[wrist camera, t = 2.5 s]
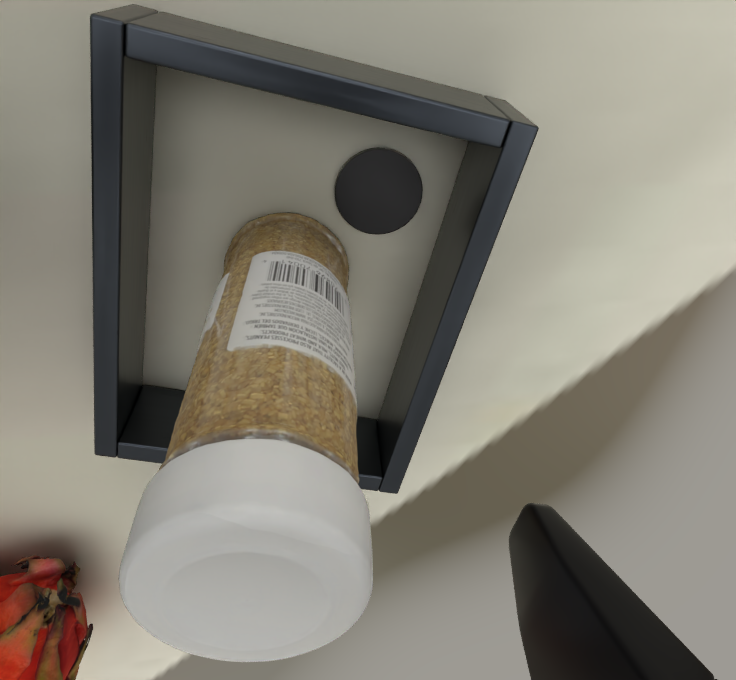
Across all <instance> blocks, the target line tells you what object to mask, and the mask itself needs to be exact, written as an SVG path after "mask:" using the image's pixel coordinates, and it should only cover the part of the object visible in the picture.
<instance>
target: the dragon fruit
mask: <svg viewBox="0 0 736 680" xmlns="http://www.w3.org/2000/svg"><path fill="white" fill-rule="evenodd" d="M41 558H42V559H41ZM43 558H44V557H39V556H37V555H33V556H30V557H27V558H22V559H21V560H19V561H18V562H17V563H15V564H14V565H11V566H16V565H19V564H22V563H23V562H27V563H26V564H25V565H22V566H21V569H24V568H29V569H28V572H22V573H15V574H10V575H4V576H0V680H75V679H76V675H77V673H78V669H79V664H80V662H81V660H82V657H83V654H84V652H85V650H86V648H87V646H88V643H89V641H88V639H89V640H90V638H89V637H91V634H92V630H93V624H90V625H89V628H88V626H87V618H86V609H85V606H84V603H83V599H82V596H81V594H80V593H77V594H76V593H72V589H74V587H75V585H76V584H77V582H76V578H77V575H78V572H79V571H80V568H79V567H78V566H77V564H76V563H75V562H74V563H73V565H71V566H69V569H66V567H65V565H64V563H63V562H62V560H61V559H54V558H53V559H48V558H49V557H47V559H43ZM84 639H85V640H84ZM87 641H88V643H87ZM86 644H87V645H86Z"/></svg>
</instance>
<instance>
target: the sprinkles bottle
mask: <svg viewBox="0 0 736 680" xmlns="http://www.w3.org/2000/svg"><path fill="white" fill-rule="evenodd" d="M348 272H349V264H348V259H347V256H346V253H345V251H344V248H343V246H342V244H341V243H340V241H339V240H338V238H337V237H336V236H335V235H334V234H333V233H332V232H331V231H330V230H329V229H328V228H327V227H325V226H324V225H321V224H320V223H319V222H318V221H316V220H314V219H311V218H309V217H305V216H302V215H299V214H295V213H276V214H268V215H266V216H264V217H260V218H258V219H255V220H252V221H250V222H249V223H247V224H246V225H245V226H244V227H243V228H242V229H241V230H240V231H239V232H238V233H237V234H236V236H235V237H234V238H233V240H232V242H231V245H230V246H229V248H228V251H227V253H226V256H225V260H224V273H223V276H222V279H221V281H220V283H219V285H218V287H217V289H216V291H215V294H214V296H213V300H212V303H211V306H210V308H209V311H208V314H207V317H206V320H205V324H204V328H203V331H202V334H201V337H200V340H199V344H198V349H197V357H196V361H195V364H194V366H193V369H192V373H191V376H190V378H189V382H188V385H187V389H186V392H185V394H184V399H183V401H182V403H181V407H180V411H179V415H178V417H177V420H176V422H175V426H174V430H173V434H172V436H171V441H170V444H169V447H168V450H167V454H166V459H165V461H164V462H163V464H162V465H161V467H160V468H159V471H158V472H157V473H156V474H155V475H154V477H153V478H152V479H151V481H150V482H149V483H148V485H147V486H146V488H145V490H144V492H143V494H142V497H141V500H140V503H139V506H138V509H137V512H136V515H135V517H134V521H133V524H132V527H131V531H130V534H129V537H128V541H127V544H126V547H125V551H124V554H123V558H122V561H121V565H120V571H119V586H120V593H121V596H122V599H123V602H124V604H125V606H126V608H127V610H128V611H129V613H130V614H131V616H132V617H133V618H134V619H135V620H136V622H137V623H138V624H139V625H140V626H141V627H142V628H144V629H145V630H146V631H147V632H149V633H150V634H151V635H153V636H154V637H156V638H157V639H159V640H160V641H162V642H164V643H166V644H168V645H170V646H172V647H174V648H176V649H179V650H181V651H184V652H187V653H190V654H194V655H197V656H202V657H205V658H209V659H216V660H224V661H235V662H260V661H273V660H281V659H285V658H290V657H294V656H298V655H301V654H304V653H307V652H310V651H313V650H315V649H317V648H320V647H322V646H324V645H326V644H328V643H330V642H332V641H334V640H335V639H337V638H338V637H340V636H341V635H343V634H344V633H345V632H346V631H347V630H348V629H350V628H351V627H352V626H353V625H354V624H355V622H356V621H357V620H358V619H359V618H360V617H361V615H362V613H363V612H364V610H365V608H366V606H367V605H368V602H369V599H370V596H371V592H372V586H373V564H372V563H373V562H372V543H371V528H370V514H369V509H368V505H367V501H366V499H365V496H364V494H363V492H362V490H361V488H360V487H359V485H358V483H359V477H358V474H359V472H358V463H357V462H358V452H357V439H356V423H357V397H356V382H355V369H354V351H353V337H352V324H351V312H350V304H349V300H348V297H347V285H348V279H349V276H348Z"/></svg>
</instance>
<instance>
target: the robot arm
mask: <svg viewBox="0 0 736 680" xmlns="http://www.w3.org/2000/svg"><path fill="white" fill-rule="evenodd" d="M509 550H510V558H511V566H512V574H513V582H514V590H515V598H516V606H517V614H518V620H519V627H520V632H521V637H522V642H523V646H524V650H525V655H526V659H527V664H528V668H529V672H530V676H531V680H717V679H714V676H713V674H712V673H711V672H710V671H709V670H708V669H707V668H706V667H705V666H704V665H703V664H702V663H701V662H700V661H699V660H698V659H697V658H696V656H695V655H694V654H693V653H691V651H690V650H689V649H688V648H687V647H686V646H685V645H684V644H683V643H682V642H681V641H680V640H679V639H678V638H677V637H676V636H675V635H674V634H673V633H672V632H671V630H670V629H669V628H668V627H667V626H666V625H665V624H664V623H663V622H662V621H661V620H660V619H659V618H658V617H657V616H656V615H655V614H654V613H653V612H652V611H651V610H650V609H649V608H648V607H647V606H646V605H645V603H643V601H642V600H641V599H640V598H639V597H638V596H637V595H636V594H635V593H634V592H633V591H632V590H631V589H630V588H629V587H628V586H627V585H626V584H625V583H624V582H623V581H622V580H621V578H619V576H617V574H616V573H615V572H614V571H613V570H612V569H611V568H610V567H609V566H608V565H607V564H606V563H605V562H604V561H603V560H602V559H601V558H600V557H599V556H598V555H597V554H596V553H595V551H593V549H592V548H591V547H590V546H589V545H588V544H587V543H586V542H585V541H584V540H583V539H582V538H581V537H580V536H579V535H578V534H577V533H576V532H575V531H574V530H573V529H572V528H571V527H570V525H569V524H568V523H567V522H566V521H565V520H564V519H563V518H562V517H561V516H560V515H559V514H558V513H557V512H556V511H555V510H554V509H553V508H552V507H550V506H548V505H543V504H534V503H528V504H527V505H525V506H524V508H523V509H522V511H521V513H520V515H519V517H518V519H517V521H516V523H515V524H514V526H513V528H512V530H511V532H510V536H509Z"/></svg>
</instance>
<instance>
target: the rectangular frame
mask: <svg viewBox="0 0 736 680" xmlns="http://www.w3.org/2000/svg"><path fill="white" fill-rule="evenodd" d="M90 57H91V153H92V250H93V347H94V444H95V455H100V456H108V457H116V456H118V458H123V459H131V460H139V461H146V462H154V463H162V464H163V462H164V461H165V459H166V454H167V450H168V447H169V444H170V441H171V436H172V434H173V430H174V426H175V422H176V420H177V417H178V415H179V411H180V407H181V403H182V401H183V399H184V394H185V392H186V391H181V390H174V389H167V388H161V387H154V386H147V385H143V386H142V376H143V354H144V331H145V309H146V287H147V265H148V243H149V220H150V198H151V176H152V154H153V131H154V109H155V87H156V65H159V66H163V67H167V68H171V69H175V70H179V71H183V72H187V73H192V74H196V75H200V76H204V77H208V78H212V79H216V80H220V81H224V82H229V83H233V84H237V85H241V86H245V87H249V88H253V89H257V90H261V91H265V92H270V93H274V94H278V95H282V96H286V97H290V98H294V99H298V100H302V101H307V102H311V103H315V104H319V105H323V106H327V107H331V108H335V109H339V110H343V111H348V112H352V113H356V114H360V115H364V116H368V117H372V118H376V119H380V120H385V121H389V122H393V123H397V124H401V125H405V126H409V127H413V128H417V129H421V130H426V131H430V132H434V133H438V134H442V135H446V136H450V137H454V138H458V139H462V140H467V141H469V143H468V146H467V149H466V152H465V155H464V158H463V161H462V164H461V167H460V170H459V173H458V176H457V179H456V183H455V186H454V189H453V192H452V195H451V198H450V201H449V204H448V207H447V210H446V213H445V216H444V219H443V222H442V225H441V228H440V231H439V234H438V237H437V240H436V243H435V246H434V249H433V253H432V256H431V259H430V262H429V265H428V268H427V271H426V274H425V277H424V280H423V283H422V286H421V289H420V292H419V295H418V298H417V301H416V304H415V307H414V310H413V313H412V316H411V320H410V323H409V326H408V329H407V332H406V335H405V338H404V341H403V344H402V347H401V350H400V353H399V356H398V359H397V362H396V365H395V368H394V371H393V374H392V377H391V380H390V383H389V387H388V390H387V393H386V396H385V399H384V402H383V405H382V408H381V411H380V414H379V417H378V420H374V419H368V418H361V417H357V423H356V439H357V452H358V462H357V463H358V472H359V474H358V477H359V483H358V485H359V487H360V488H361V489H366V490H374V491H378V490H379V491H380V492H387V493H395V494H397V493H398V491H399V489H400V486H401V483H402V481H403V478H404V476H405V473H406V470H407V468H408V465H409V463H410V460H411V457H412V455H413V452H414V450H415V447H416V445H417V442H418V439H419V437H420V434H421V432H422V429H423V426H424V424H425V421H426V419H427V416H428V413H429V411H430V408H431V406H432V403H433V401H434V398H435V395H436V393H437V390H438V388H439V385H440V382H441V380H442V377H443V375H444V372H445V370H446V367H447V364H448V362H449V359H450V357H451V354H452V351H453V349H454V346H455V344H456V341H457V338H458V336H459V333H460V331H461V328H462V326H463V323H464V320H465V318H466V315H467V313H468V310H469V307H470V305H471V302H472V300H473V297H474V294H475V292H476V289H477V287H478V284H479V282H480V279H481V276H482V274H483V271H484V269H485V266H486V263H487V261H488V258H489V256H490V253H491V250H492V248H493V245H494V243H495V240H496V238H497V235H498V232H499V230H500V227H501V225H502V222H503V219H504V217H505V214H506V212H507V209H508V206H509V204H510V201H511V199H512V196H513V194H514V191H515V188H516V186H517V183H518V181H519V178H520V175H521V173H522V170H523V168H524V165H525V162H526V160H527V157H528V155H529V152H530V150H531V147H532V144H533V142H534V139H535V137H536V134H537V131H538V127H537V126H536V125H535V124H534V123H533V122H531V121H530V120H529V119H528V118H526V117H525V116H524V115H523V114H521V113H520V112H519V111H518V110H516V109H515V108H514V107H513V106H512V105H510V104H509V103H508V102H507V101H504V100H501V99H497V98H493V97H489V96H482V95H481V94H477V93H473V92H469V91H465V90H461V89H458V88H454V87H450V86H446V85H442V84H438V83H434V82H431V81H427V80H423V79H419V78H415V77H411V76H408V75H404V74H400V73H396V72H392V71H388V70H384V69H381V68H377V67H373V66H369V65H365V64H361V63H357V62H354V61H350V60H346V59H342V58H338V57H334V56H330V55H327V54H323V53H319V52H315V51H311V50H307V49H304V48H300V47H296V46H292V45H288V44H284V43H280V42H277V41H273V40H269V39H265V38H261V37H257V36H253V35H250V34H246V33H242V32H238V31H234V30H230V29H226V28H223V27H219V26H215V25H211V24H207V23H203V22H199V21H196V20H192V19H188V18H184V17H180V16H176V15H173V14H169V13H165V12H159V13H158V11H156V10H153V9H150V8H146V7H142V6H138V5H134V4H132V5H128V6H123V7H119V8H115V9H111V10H106V11H102V12H98V13H94V14H91V16H90ZM335 199H336V204H337V207H338V209H339V212H340V213H341V215H342V216H343V218H344V219H345V220H346V221H347V222H348V223H349V224H350V225H351V226H353V227H354V228H356V229H357V230H360V231H362V232H365V233H369V234H386V233H390V232H393V231H396V230H398V229H400V228H401V227H403V226H404V225H406V224H407V223H408V222H409V221H410V220H411V219H412V218H413V216H414V215H415V214H416V212H417V210H418V208H419V206H420V203H421V199H422V182H421V178H420V175H419V173H418V171H417V169H416V167H415V166H414V164H413V163H412V162H411V161H410V160H409V159H408V158H407V157H406V156H404V155H403V154H401V153H400V152H397V151H395V150H392V149H388V148H371V149H367V150H364V151H362V152H360V153H358V154H356V155H354V156H353V157H352V158H350V159H349V160H348V161H347V162H346V163H345V165H344V166H343V167H342V169H341V171H340V172H339V175H338V177H337V181H336V185H335Z"/></svg>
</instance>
